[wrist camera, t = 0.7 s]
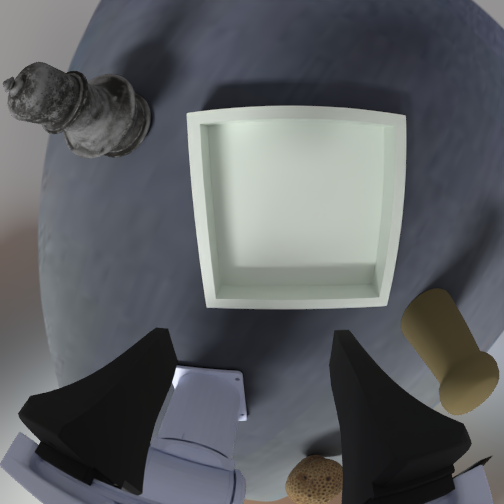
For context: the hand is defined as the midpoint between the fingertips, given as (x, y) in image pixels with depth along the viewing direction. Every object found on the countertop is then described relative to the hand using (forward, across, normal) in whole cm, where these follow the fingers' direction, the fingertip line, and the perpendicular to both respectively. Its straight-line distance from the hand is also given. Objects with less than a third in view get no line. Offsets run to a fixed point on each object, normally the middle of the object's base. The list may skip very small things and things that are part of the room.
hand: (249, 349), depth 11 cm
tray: (+10, -3, -4) cm, 11 cm away
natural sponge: (+11, -7, +34) cm, 37 cm away
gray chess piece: (+10, +10, -11) cm, 18 cm away
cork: (+10, -16, +6) cm, 20 cm away
